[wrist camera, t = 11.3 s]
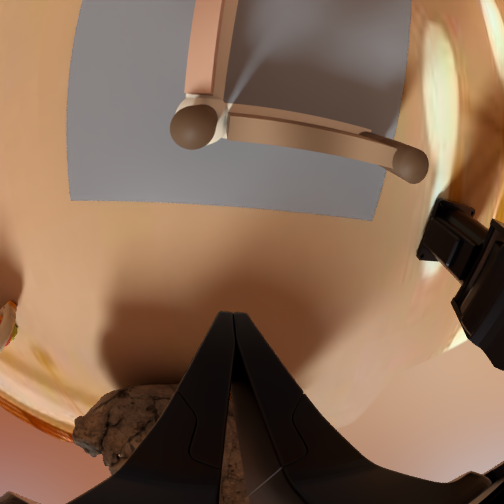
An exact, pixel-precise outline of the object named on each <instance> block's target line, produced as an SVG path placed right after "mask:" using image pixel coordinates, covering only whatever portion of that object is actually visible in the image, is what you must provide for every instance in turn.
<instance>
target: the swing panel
mask: <svg viewBox="0 0 504 504" xmlns="http://www.w3.org/2000/svg"><path fill="white" fill-rule="evenodd" d="M224 4H225V0H196V2H195V8H194V14H193V21H192V28H191V35H190V42H189V51H188V59H187V69H186V79H185V90H184V93H187V94H192V95H209V96H213V94H214V84H215V74H216V65H217V56H218V48H219V40H220V32H221V25H222V18H223V11H224Z"/></svg>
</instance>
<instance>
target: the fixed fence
mask: <svg viewBox="0 0 504 504" xmlns="http://www.w3.org/2000/svg"><path fill="white" fill-rule="evenodd" d="M217 121H218V116H217V113H216V111H215V110H214V109H213V108H212V107H211V106H209V105H205V104H200V105H193V106H187V107H184V108H182V109H180V110H179V111H178V112H177V113H176V114H175V115H174V116H173V118H172V120H171V123H170V134H171V137H172V139H173V140H174V142H175V143H176V144H177V145H179V146H180V147H182V148H184V149H188V150H195V149H200V148H202V147H204V146H206V145H207V144H208V143H209V142H210V141H211V140H212V138H213V136H214V134H215V131H216V126H217ZM226 133H227V140H230V141H240V142H250V143H259V144H267V145H275V146H282V147H289V148H296V149H302V150H308V151H314V152H320V153H325V154H331V155H336V156H341V157H346V158H350V159H355V160H359V161H364V162H368V163H372V164H376V165H379V166H380V167H382V168H384V169H386V170H388V171H390V172H392V173H393V174H395V175H397V176H399V177H400V178H402V179H404V180H406V181H407V182H409V183H412V184H416V183H419V182H421V181H422V180H423V179H424V178H425V176H426V174H427V172H428V167H429V163H428V158H427V156H426V154H425V153H424V152H423V151H421V150H419V149H417V148H414V147H411V146H409V145H406V144H403V143H401V142H398V141H395V140H392V139H389V138H386V137H383V136H380V135H377V134H374V133H371V132H367V131H365V132H361V133H359V134H355V133H351V132H347V131H343V130H338V129H334V128H329V127H325V126H320V125H315V124H310V123H305V122H299V121H294V120H288V119H281V118H275V117H268V116H260V115H252V114H244V113H234V112H228V116H227V125H226Z"/></svg>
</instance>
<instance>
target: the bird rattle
mask: <svg viewBox="0 0 504 504" xmlns="http://www.w3.org/2000/svg"><path fill="white" fill-rule="evenodd" d="M16 310H17V307H16V305H15V304H14V303H13V302H12V301H8V302H7V303H6V304H5V306H3V307H2V308H1V309H0V353H1V351H2V350H3V348H4V347H5V346H7V345H8V344H9V343H10V341H12V340H14V337H15V336H16V334H17V327H16V325H15V319H16Z"/></svg>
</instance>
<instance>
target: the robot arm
mask: <svg viewBox="0 0 504 504" xmlns="http://www.w3.org/2000/svg"><path fill="white" fill-rule="evenodd" d="M440 203H441V204H440ZM474 214H475V210H474V209H473V208H472V207H469V206H465V205H462V204H459V203H456V202H452V201H449V200H445V199H442V198H439V199H438V200H437V201H436V203H435V206H434V209H433V212H432V215H431V218H430V221H429V224H428V226H427V229H426V232H425V234H424V237H423V239H422V242H421V245H420V247H419V249H418V252H417V255H416V256H417V258H418V259H419V260H425V261H439V262H440V263H441V264H442V265H443V266H444V267H445V268H446V269H447V270H448V271H449V272H450V273H451V274H452V275H453V276H454V277H455V278H456V279H457V280H458V281H459V282H460V283H461V287H460V289H459V291H458V292H457V294H456V296H455V297H453V299H452V301H451V304H452V307H453V309H454V311H455V313H456V315H457V317H458V319H459V321H460V323H461V325H462V328H463V330H464V332H465V334H466V336H467V338H468V339H469V340H470V341H472V342H473V343H474V344H475V345H476V346H478V347H480V348H481V349H482V350H483V351H484V353H485V354H486V355H487V357H488V358H489V360H490V361H491V363H492V364H493V366H494V367H496V368H498V369H500V370H503V371H504V223H502V222H499V221H497V220H495V219H493V218H492V220H491V223H490V224H491V225H490V228H489V229H488V228H486V227H485V226H484V225H482V224H481V223H480V222H478V221H477V220H475V219H474V218H473V217H474ZM421 254H422V255H421ZM230 390H231V396H232V403H233V410H234V416H235V423H236V429H237V435H238V442H239V448H240V454H241V459H242V465H243V471H244V476H245V482H246V487H247V493H248V496H249V497H248V498H249V503H250V504H504V461H503V462H501V463H500V464H498V465H497V466H495V467H494V468H492V469H490V470H489V471H487V472H486V473H484V474H479V473H476V472H472V471H470V472H467V473H465V474H463V475H461V476H459V477H458V478H456V479H454V480H452V481H450V482H448V483H439V482H433V481H429V480H424V479H421V478H417V477H413V476H409V475H406V474H402V473H399V472H396V471H392V470H389V469H386V468H383V467H380V466H378V465H376V464H374V463H373V462H371V461H370V460H368V459H367V458H365V457H364V456H363V455H361V453H360V452H359V451H358V450H356V449H355V448H354V447H353V446H352V445H351V444H350V443H349V442H348V441H347V440H346V439H345V438H344V437H343V436H342V435H341V434H340V433H339V432H337V430H336V429H335V428H334V427H333V426H332V425H331V424H330V423H329V422H328V421H327V420H326V419H325V418H324V417H323V416H322V415H321V413H320V412H319V411H318V410H317V408H316V407H315V406H314V405H313V404H312V402H311V401H310V400H309V398H308V397H307V396H306V394H303V390H302V389H301V388H300V386H299V385H298V384H297V382H296V381H295V380H294V378H293V377H292V376H291V374H290V373H289V372H288V370H287V369H286V368H285V366H284V365H283V364H282V362H281V361H280V359H279V358H278V357H277V355H276V354H275V353H274V351H273V350H272V348H271V347H270V346H269V344H268V343H267V341H266V340H265V339H264V337H263V336H262V334H261V333H260V332H259V330H258V329H257V327H256V326H255V324H254V323H253V322H252V320H251V319H250V317H249V316H248V315H247V314H246V313H241V312H234V313H233V314H232V312H227V311H220V312H219V313H218V314H217V316H216V318H215V320H214V321H213V323H212V325H211V327H210V329H209V331H208V332H207V334H206V336H205V338H204V340H203V342H202V343H201V345H200V347H199V349H198V351H197V353H196V354H195V356H194V358H193V360H192V362H191V363H190V365H189V367H188V369H187V371H186V373H185V374H184V376H183V378H182V380H181V382H180V384H179V385H178V387H177V389H176V391H175V392H174V394H173V396H172V398H171V400H170V401H169V403H168V405H167V406H166V408H165V410H164V411H163V413H162V415H161V416H160V418H159V419H158V420H157V422H156V423H155V425H154V426H153V427H152V429H151V430H150V431H149V433H148V434H147V435H146V437H145V438H144V439H143V440H142V442H141V443H140V444H139V445H138V447H137V448H136V449H135V450H134V452H133V453H132V454H131V456H130V457H129V458H128V459H127V460H126V462H125V463H124V464H123V465H122V466H121V467H120V468H119V469H118V470H117V471H116V472H115V473H114V474H113V475H111V476H110V477H109V478H107V479H106V480H104V481H103V482H101V483H100V484H98V485H96V486H95V487H94V488H92V489H90V490H88V491H87V492H85V493H84V494H82V495H80V496H79V497H77V498H75V499H73V500H72V501H70V502H68V503H66V504H219V501H220V485H221V474H222V472H221V470H222V464H223V454H224V445H225V436H226V426H227V417H228V408H229V399H230ZM0 504H40V503H37V502H35V501H32V500H30V499H27V498H25V497H23V496H20V495H18V494H15V493H13V492H6V493H5V494H4V495H3V496H2V497H0Z"/></svg>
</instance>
